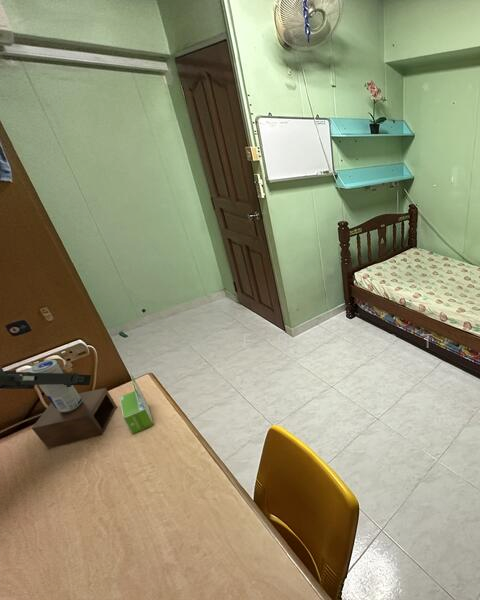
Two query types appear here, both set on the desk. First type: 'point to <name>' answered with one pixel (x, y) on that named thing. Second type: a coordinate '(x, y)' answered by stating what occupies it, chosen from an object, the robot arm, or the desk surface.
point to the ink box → (135, 410)
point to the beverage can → (57, 388)
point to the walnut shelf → (76, 419)
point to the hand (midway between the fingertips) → (61, 381)
